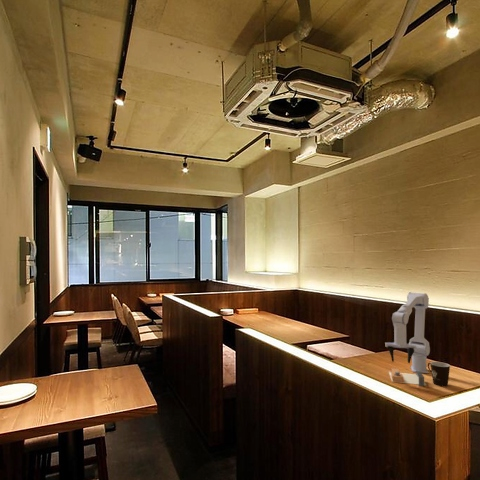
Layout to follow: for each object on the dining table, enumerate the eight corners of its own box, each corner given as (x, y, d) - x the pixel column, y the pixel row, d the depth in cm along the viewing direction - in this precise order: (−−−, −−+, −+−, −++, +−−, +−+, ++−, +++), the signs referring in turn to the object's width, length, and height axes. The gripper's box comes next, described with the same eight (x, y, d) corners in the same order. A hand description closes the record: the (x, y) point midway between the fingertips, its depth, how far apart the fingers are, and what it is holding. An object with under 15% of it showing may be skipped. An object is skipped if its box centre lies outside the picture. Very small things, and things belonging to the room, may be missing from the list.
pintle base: (388, 371, 191) (388, 364, 191) (420, 375, 186) (420, 367, 186) (391, 381, 176) (391, 373, 176) (426, 385, 171) (426, 377, 171)
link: (403, 382, 174) (403, 377, 174) (392, 380, 176) (392, 376, 176) (399, 372, 188) (399, 368, 189) (389, 371, 190) (389, 367, 190)
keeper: (415, 379, 179) (415, 371, 179) (420, 380, 178) (420, 371, 178) (419, 385, 170) (418, 376, 171) (424, 386, 170) (424, 377, 170)
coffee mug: (453, 388, 168) (452, 367, 168) (434, 386, 169) (433, 366, 170) (444, 379, 179) (443, 360, 180) (426, 378, 181) (426, 359, 181)
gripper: (386, 336, 177) (386, 362, 176) (417, 338, 172) (417, 365, 172) (384, 333, 183) (385, 358, 183) (414, 335, 179) (414, 361, 178)
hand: (400, 361), depth 178 cm, fingers open, 7 cm apart
